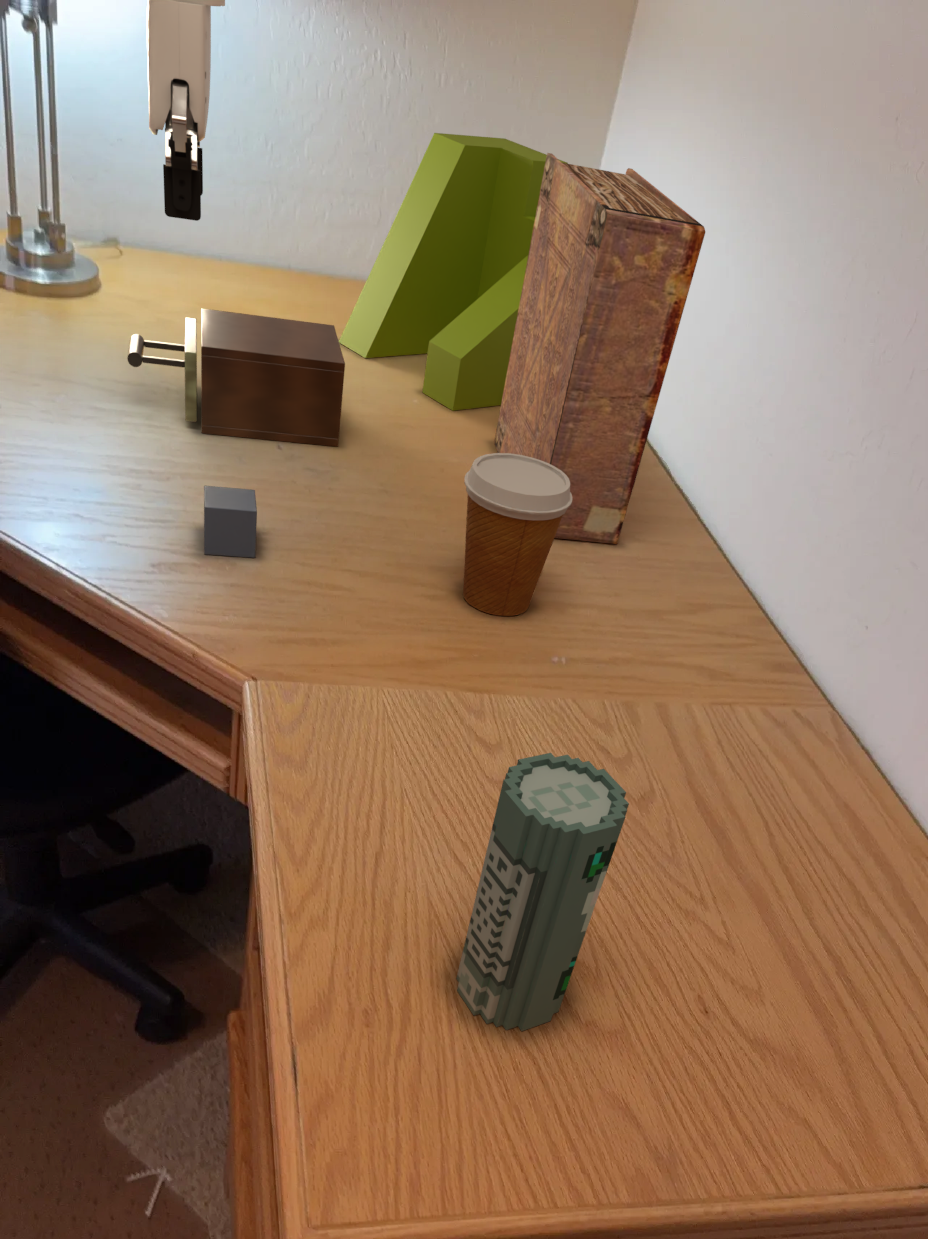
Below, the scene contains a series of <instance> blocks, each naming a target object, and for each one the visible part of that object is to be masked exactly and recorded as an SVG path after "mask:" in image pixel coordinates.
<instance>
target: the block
mask: <svg viewBox="0 0 928 1239" xmlns="http://www.w3.org/2000/svg"><path fill="white" fill-rule="evenodd" d="M257 524H258V507H257V496H256V490H255V489H249V488H241V487H240V488H238V487H227V486H217V485H204V486H203V554H204V555H207V556H208V555H209V556H222V557H235V558H236V557H237V558H238V557H239V558H250V559H256V550H257V549H256V548H257V527H258V526H257Z"/></svg>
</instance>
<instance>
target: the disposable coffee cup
mask: <svg viewBox="0 0 928 1239" xmlns="http://www.w3.org/2000/svg"><path fill="white" fill-rule="evenodd" d="M464 486H465V491H466V493H467V503H466V523H465V542H464V544H465V546H464V547H465V548H464V566H463V567H464V568H463V585H462V586H463V587H462V588H463V589H462V596H463V599H464V600H465V602H467V603H468V604H469V605H470V606H471V607H473V608H475V609H477V610H479V611H481V612H482V613H486V614H489V615H494V616H499V617H500V616H502V617H512V616H518V615H521V614H524V613H525V612H526V611H527V610H528V609H529V607H530V605H531V601H532V600H533V597H534V593H535V590H536V588H537V586H538V583H539V580H540V578H541V575H542V572H543V571H544V570H543V569H544V567H545V564H546V562H547V558H548V556H549V554H550V551H551V549H552V546H553V543H554V540H555V538H554V537H555V535H556V532H557V529H558V527H559V524H560V521H561V518H562V516H563V514H565V512H566V510H567V508H568V507H570V505H571V503H572V494H571V492H570V480H569V478H568V477H567V475H566V474H565V473H563V472H562V471H561V470H559V469H558V468H556V467H555V466H553V465H551V464H549V463H546V462H544V461H541V460H538V459H535V458H532V457H528V456H524V455H518V454H511V453H498V452H493V453H485V454H483V455H480V456H477V457H476V458H475V459H474V460H473V462H472V464H471V467H470V469H469V470H468V471H467V472H465V475H464Z"/></svg>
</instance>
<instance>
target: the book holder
mask: <svg viewBox="0 0 928 1239" xmlns="http://www.w3.org/2000/svg"><path fill="white" fill-rule="evenodd" d="M423 154H424V155H423V157H422V159H421V161H420V163H419V166H418V168H417V169H416V172H415V174H414V176H413V178H412V181H411V183H410V185H409V187H408V189H407V192H406V194H405V195H404V198H403V200H402V202H401V205H400V207H399V209H398V210H397V213H396V215H395V217H394V219H393V222H392V224H391V227H390V229H389V230H388V233H387V235H386V237H385V240H384V242H383V243H382V246H381V248H380V250H379V252H378V254H377V257H376V260H375V261H374V263H373V266H372V268H371V270H370V271H369V274H368V276H367V278H366V281H365V283H364V285H363V288H362V290H361V291H360V294H359V296H358V298H357V300H356V303H355V305H354V307H353V309H352V311H351V314H350V316H349V318H348V320H347V322H346V324H345V326H344V329H343V330H342V333H341V335H340V337H339V339H338V341H339V344H341V345H343V346H344V347H345V348H348V349H349V350H351V351H353V352H354V353H355V354H357V355H359V356H360V357H362V358H364V359H371V358H372V359H373V358H384V357H398V356H399V357H400V356H411V355H425V354H426V362H425V370H424V377H423V385H422V394H424V395H425V396H427V397H429V398H431V399H432V400H433V401H436V402H438V403H439V404H441V405H442V406H444V407H446V408H447V409H449V410H451V411H452V412H454V411H462V410H471V409H478V408H486V407H487V408H488V407H496V406H501V402H502V397H503V391H504V386H505V380H506V375H507V369H508V364H509V358H510V353H511V347H512V342H513V337H514V331H515V326H516V320H517V315H518V309H519V304H520V298H521V293H522V287H523V282H524V276H525V271H526V265H527V260H528V255H529V249H530V244H531V238H532V233H533V227H534V222H535V216H536V211H537V205H538V200H539V194H540V189H541V183H542V178H543V173H544V167H545V162H546V157H547V153H543V152H541V151H538V150H536V149H533V148H530V147H528V146H525V145H523V144H520V143H518V142H515V141H513V140H510V139H507V138H503V137H491V136H479V135H466V134H453V133H443V132H434V133H433V135H432V136H431V139H430V141H429V144H428V146H427V148H426V150H425V153H423ZM557 159H558V160H559V161H560V162H562V163H567V164H569V163H568V162H567V161H564V160H562V159H559V158H557Z"/></svg>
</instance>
